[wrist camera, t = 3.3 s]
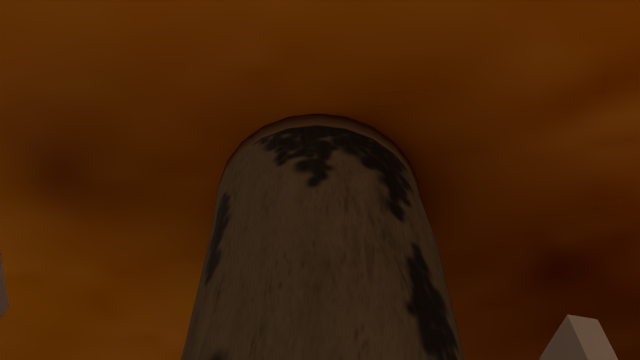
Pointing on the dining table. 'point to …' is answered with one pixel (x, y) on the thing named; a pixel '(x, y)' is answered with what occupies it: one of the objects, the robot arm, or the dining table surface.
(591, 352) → the robot arm
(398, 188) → the mug
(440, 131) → the dining table surface
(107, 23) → the dining table surface
